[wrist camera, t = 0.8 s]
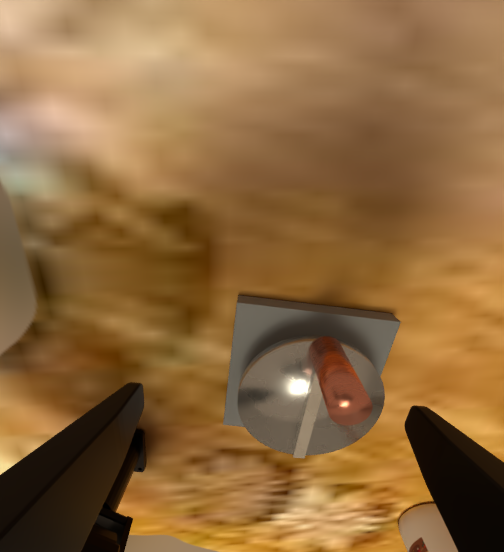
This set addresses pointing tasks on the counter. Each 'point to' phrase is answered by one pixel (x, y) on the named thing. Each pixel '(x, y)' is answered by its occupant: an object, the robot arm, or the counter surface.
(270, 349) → the handwheel
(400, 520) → the milk bottle
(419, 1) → the counter surface
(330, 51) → the counter surface
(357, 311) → the base plate
